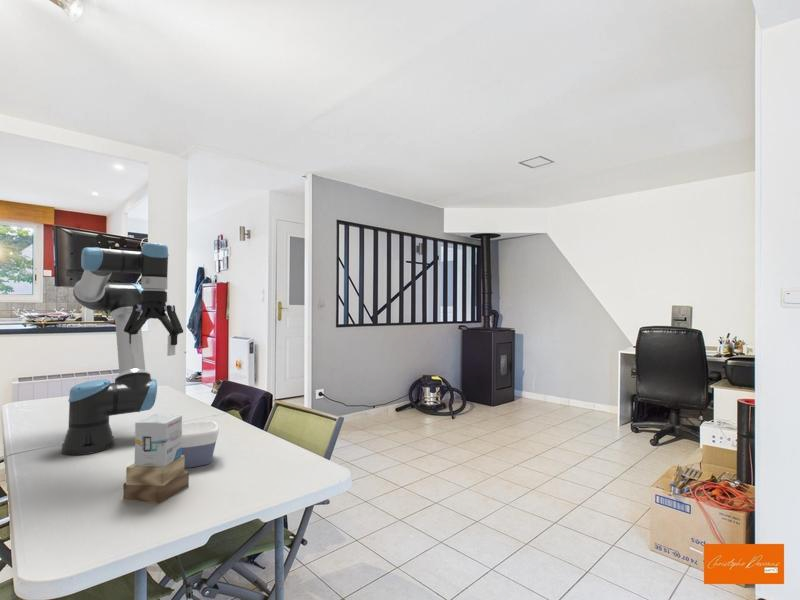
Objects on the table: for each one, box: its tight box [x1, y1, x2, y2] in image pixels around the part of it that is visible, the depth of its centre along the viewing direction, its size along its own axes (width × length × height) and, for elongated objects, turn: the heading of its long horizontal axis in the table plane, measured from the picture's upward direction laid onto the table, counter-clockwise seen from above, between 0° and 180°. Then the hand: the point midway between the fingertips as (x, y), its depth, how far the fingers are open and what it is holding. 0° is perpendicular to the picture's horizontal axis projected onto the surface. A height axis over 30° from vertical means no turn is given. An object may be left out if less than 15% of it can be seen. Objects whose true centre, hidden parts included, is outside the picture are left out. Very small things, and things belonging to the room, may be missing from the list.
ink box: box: [134, 414, 183, 467], centre depth 117 cm, size 8×8×12 cm
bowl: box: [182, 420, 220, 469], centre depth 139 cm, size 15×15×11 cm
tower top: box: [125, 455, 185, 486], centre depth 116 cm, size 10×10×4 cm
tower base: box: [122, 470, 190, 505], centre depth 116 cm, size 11×11×4 cm
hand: (152, 354), depth 140 cm, fingers open, 13 cm apart
